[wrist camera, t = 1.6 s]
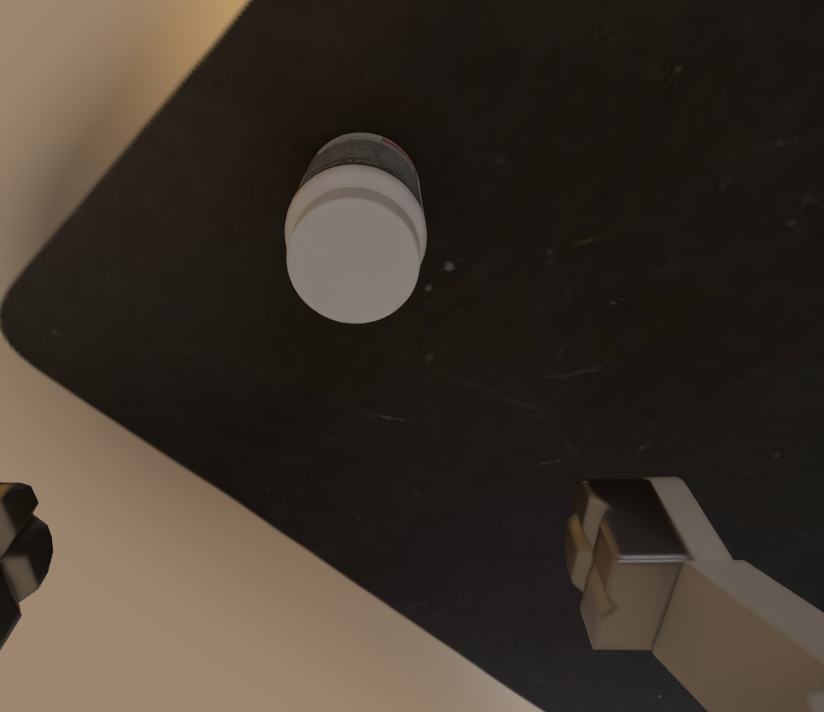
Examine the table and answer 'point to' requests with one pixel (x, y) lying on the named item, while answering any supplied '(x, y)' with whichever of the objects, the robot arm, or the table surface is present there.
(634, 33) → the table surface
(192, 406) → the table surface
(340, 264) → the pill bottle
